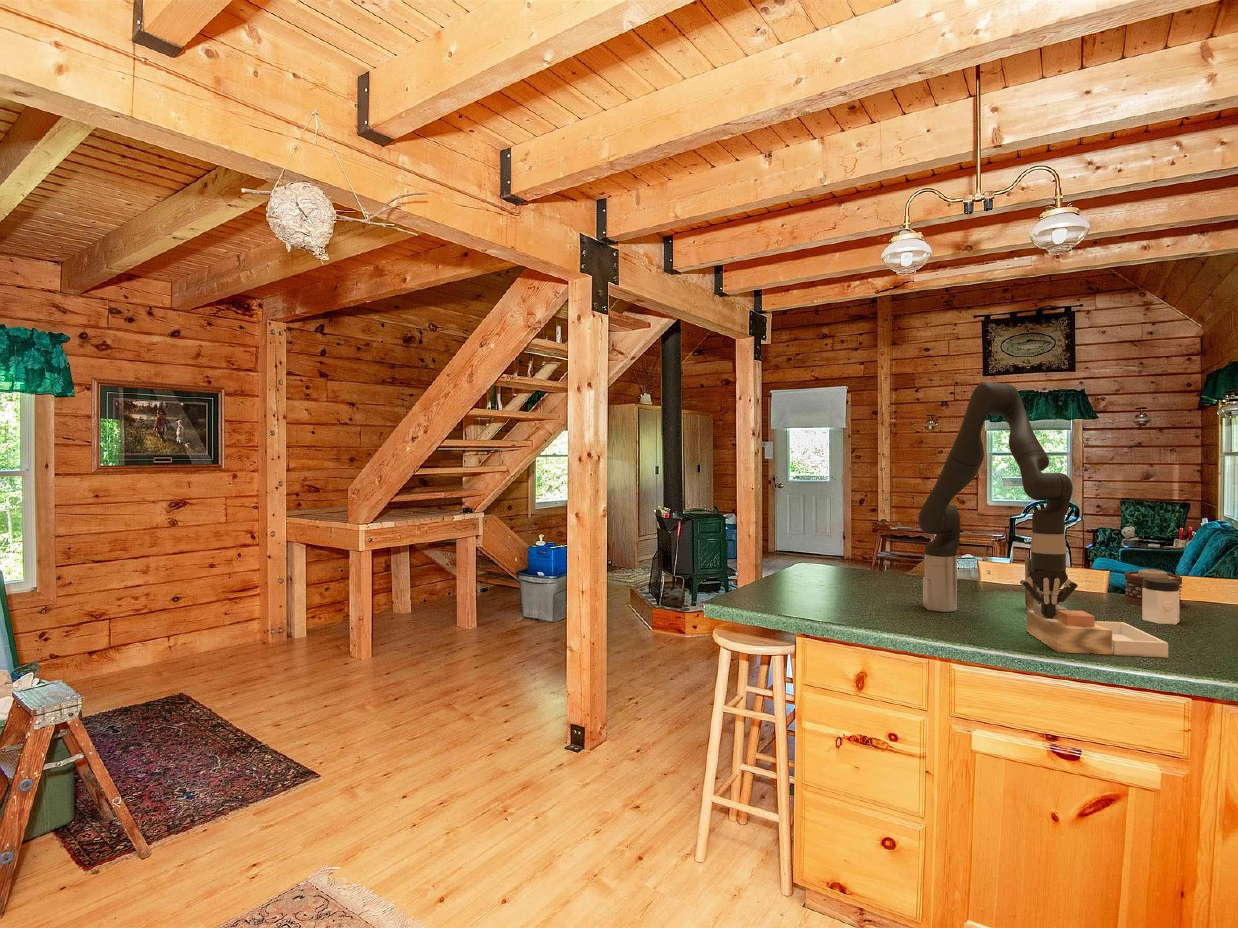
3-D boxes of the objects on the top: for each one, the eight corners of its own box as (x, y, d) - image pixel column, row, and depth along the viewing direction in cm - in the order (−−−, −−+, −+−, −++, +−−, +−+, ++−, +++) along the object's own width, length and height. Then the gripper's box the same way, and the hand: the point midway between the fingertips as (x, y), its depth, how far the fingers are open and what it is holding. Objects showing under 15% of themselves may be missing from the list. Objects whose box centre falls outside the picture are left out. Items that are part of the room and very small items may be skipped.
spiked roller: (1113, 566, 224) (1164, 567, 221) (1113, 598, 224) (1164, 599, 221) (1140, 574, 209) (1194, 575, 207) (1139, 608, 209) (1194, 610, 207)
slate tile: (1042, 618, 175) (1042, 608, 175) (1033, 612, 181) (1033, 603, 181) (1068, 619, 174) (1068, 609, 174) (1058, 613, 180) (1058, 604, 180)
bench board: (1057, 651, 165) (1057, 627, 165) (1027, 631, 184) (1027, 610, 184) (1112, 654, 163) (1112, 629, 163) (1075, 633, 181) (1075, 611, 181)
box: (1114, 655, 162) (1114, 640, 162) (1076, 633, 182) (1076, 620, 182) (1168, 657, 160) (1168, 643, 160) (1123, 635, 180) (1123, 622, 179)
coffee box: (1059, 616, 201) (1059, 562, 200) (1036, 615, 202) (1036, 562, 202) (1047, 609, 210) (1046, 558, 209) (1024, 608, 211) (1024, 557, 211)
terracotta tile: (1067, 625, 167) (1067, 615, 167) (1057, 619, 173) (1057, 609, 173) (1094, 626, 166) (1094, 616, 166) (1083, 620, 172) (1083, 610, 172)
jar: (1148, 623, 191) (1148, 581, 191) (1136, 616, 199) (1136, 576, 199) (1186, 625, 189) (1186, 583, 188) (1172, 618, 196) (1172, 578, 196)
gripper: (1025, 552, 168) (1025, 620, 169) (1084, 553, 166) (1084, 622, 166) (1014, 548, 176) (1014, 613, 176) (1070, 549, 173) (1070, 615, 173)
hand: (1048, 617), depth 171 cm, fingers closed
